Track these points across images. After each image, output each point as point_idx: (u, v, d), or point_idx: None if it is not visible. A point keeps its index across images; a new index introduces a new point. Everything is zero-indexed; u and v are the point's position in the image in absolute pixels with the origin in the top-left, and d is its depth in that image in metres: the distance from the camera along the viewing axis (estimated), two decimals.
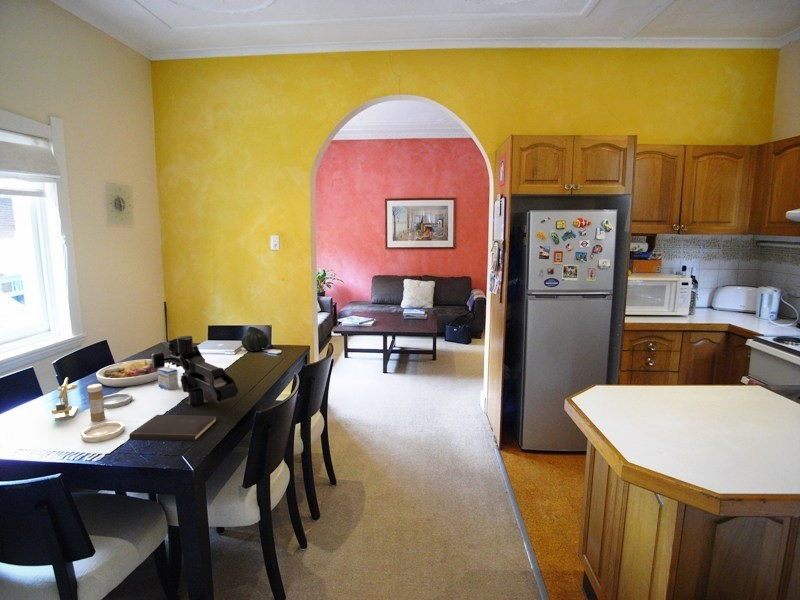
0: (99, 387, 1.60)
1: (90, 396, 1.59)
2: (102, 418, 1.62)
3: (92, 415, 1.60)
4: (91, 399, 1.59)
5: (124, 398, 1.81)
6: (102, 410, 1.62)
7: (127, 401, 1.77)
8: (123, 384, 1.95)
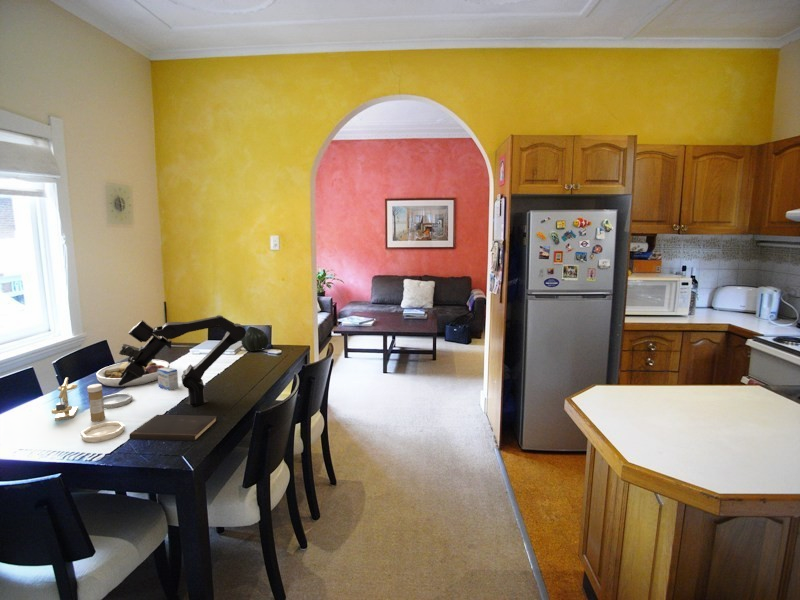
0: (99, 387, 1.60)
1: (90, 396, 1.59)
2: (102, 418, 1.62)
3: (92, 415, 1.60)
4: (91, 399, 1.59)
5: (124, 398, 1.81)
6: (102, 410, 1.62)
7: (127, 401, 1.77)
8: (123, 384, 1.95)
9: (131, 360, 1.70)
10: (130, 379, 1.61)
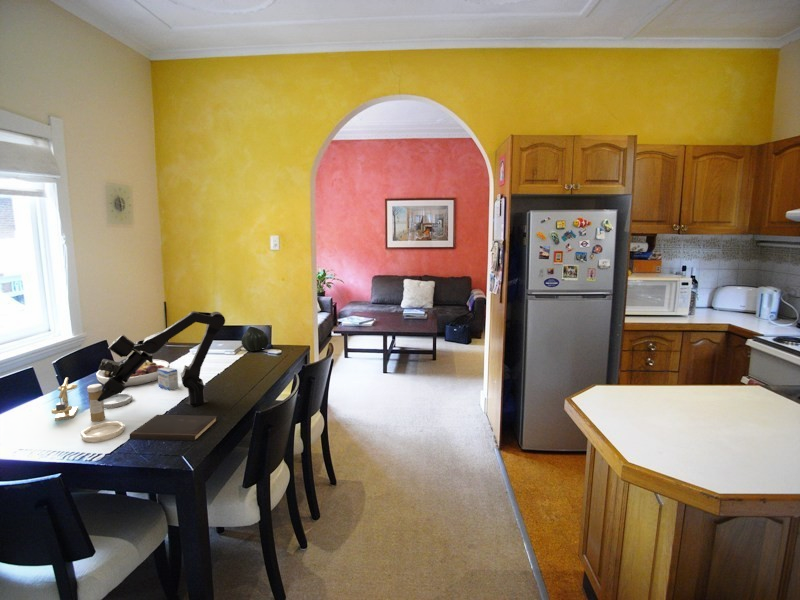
0: (99, 387, 1.60)
1: (90, 396, 1.59)
2: (102, 418, 1.62)
3: (92, 415, 1.60)
4: (91, 399, 1.59)
5: (124, 398, 1.81)
6: (102, 410, 1.62)
7: (127, 401, 1.77)
8: None
9: (111, 375, 1.67)
10: (109, 395, 1.58)
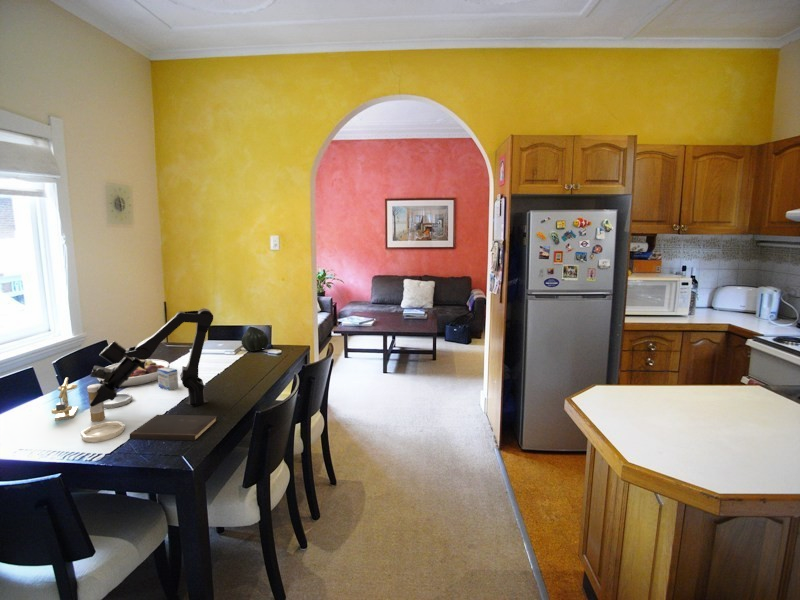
0: None
1: (90, 396, 1.59)
2: (102, 418, 1.62)
3: (92, 415, 1.60)
4: (91, 399, 1.59)
5: (124, 398, 1.81)
6: (102, 410, 1.62)
7: (127, 401, 1.77)
8: (123, 384, 1.95)
9: (103, 383, 1.64)
10: (102, 400, 1.59)
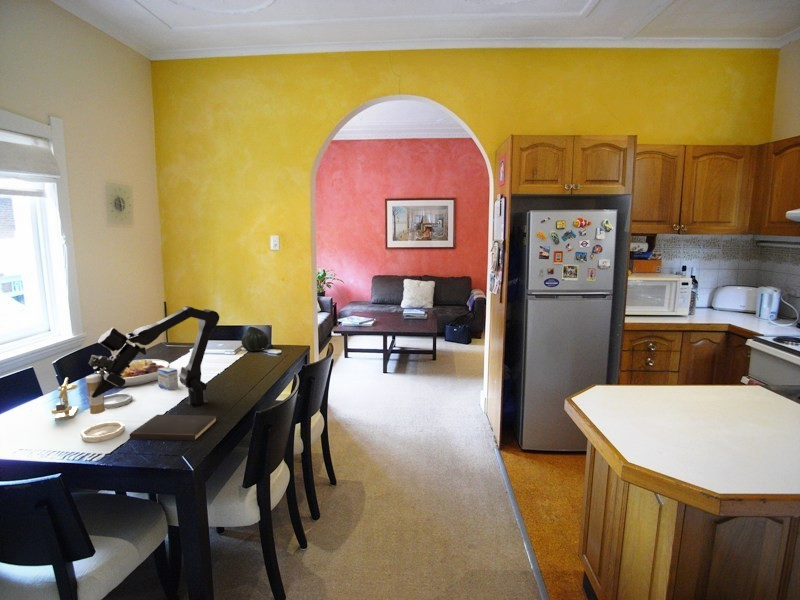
0: None
1: (90, 387, 1.49)
2: (103, 410, 1.53)
3: (93, 407, 1.51)
4: (92, 390, 1.50)
5: (124, 398, 1.81)
6: (103, 401, 1.53)
7: (127, 401, 1.77)
8: None
9: (99, 373, 1.55)
10: (106, 389, 1.51)
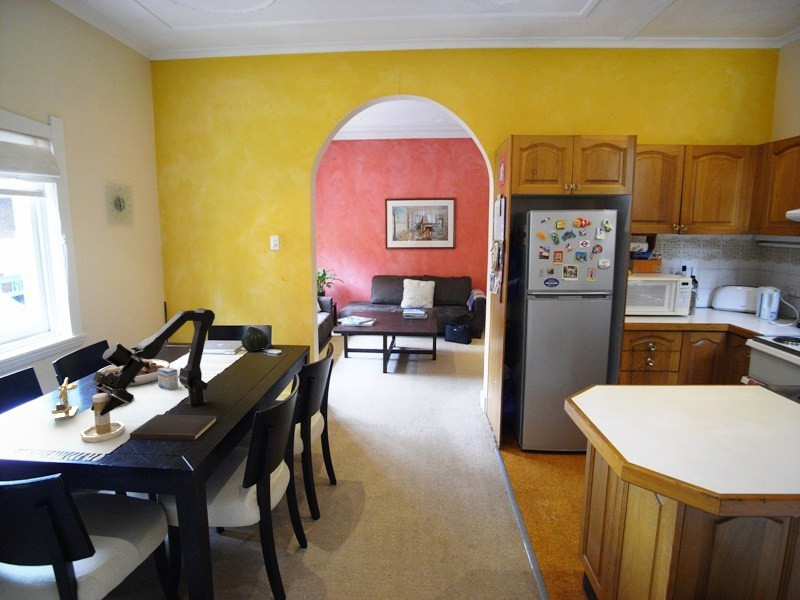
0: (107, 396, 1.50)
1: (98, 407, 1.47)
2: (110, 429, 1.51)
3: (100, 427, 1.49)
4: (99, 409, 1.48)
5: None
6: (109, 420, 1.51)
7: None
8: None
9: (101, 389, 1.53)
10: (114, 407, 1.49)
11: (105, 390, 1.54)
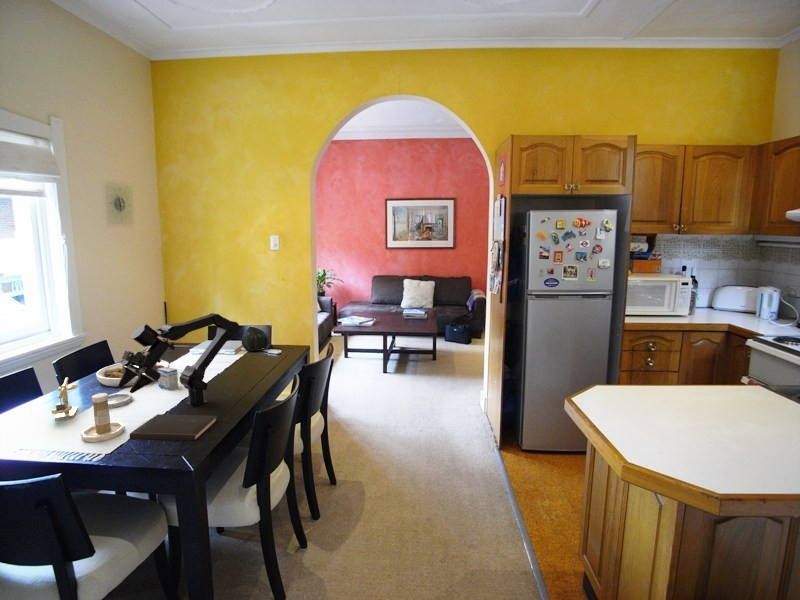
0: (107, 396, 1.49)
1: (97, 407, 1.47)
2: (110, 429, 1.51)
3: (100, 427, 1.49)
4: (99, 410, 1.48)
5: (124, 398, 1.81)
6: (109, 420, 1.51)
7: (127, 401, 1.77)
8: None
9: (127, 368, 1.61)
10: (143, 385, 1.55)
11: (131, 369, 1.62)
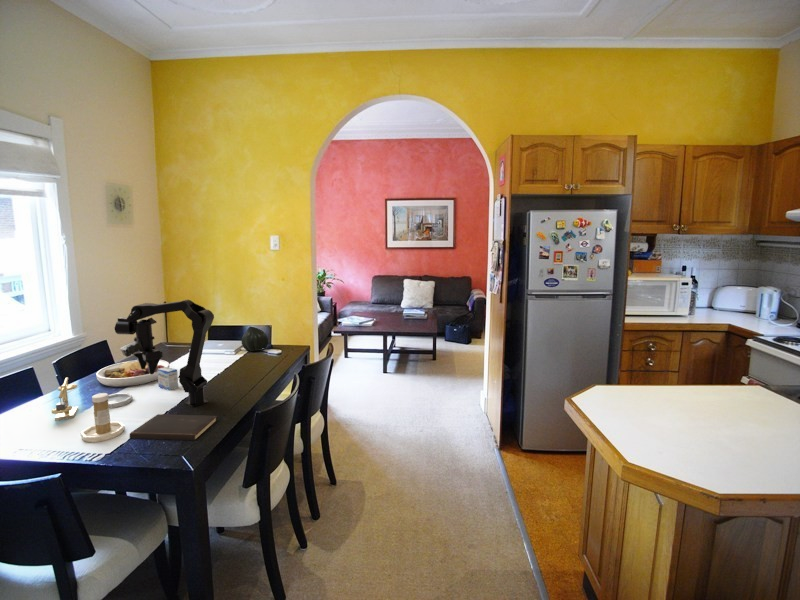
0: (107, 396, 1.49)
1: (97, 407, 1.47)
2: (110, 429, 1.51)
3: (100, 427, 1.49)
4: (99, 410, 1.48)
5: (124, 398, 1.81)
6: (109, 420, 1.51)
7: (127, 401, 1.77)
8: (123, 384, 1.95)
9: (136, 353, 1.79)
10: (155, 364, 1.74)
11: (140, 352, 1.80)
